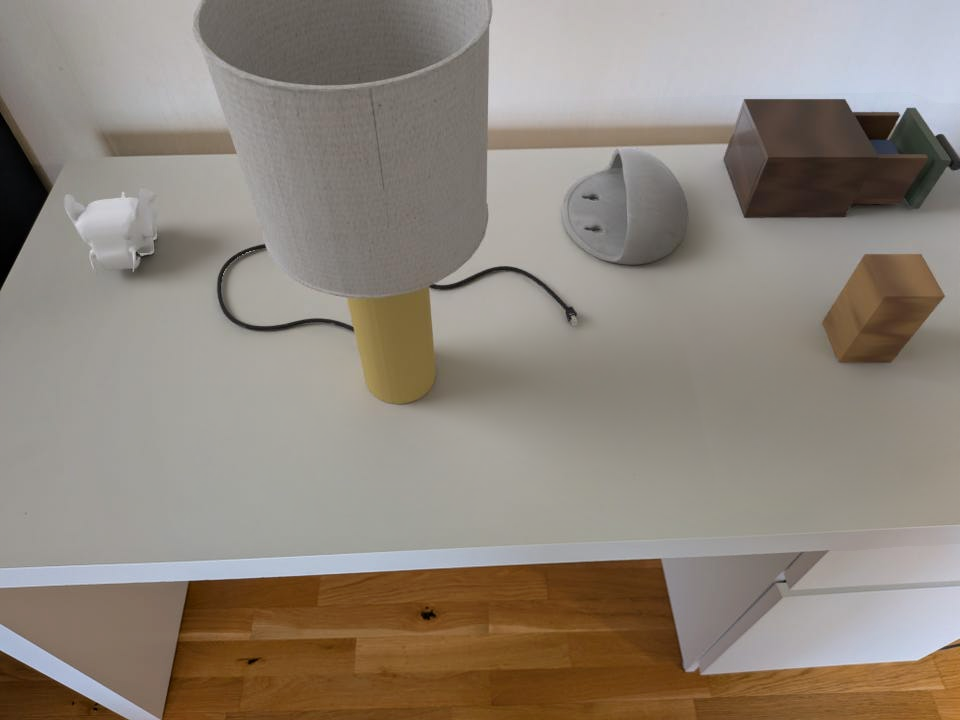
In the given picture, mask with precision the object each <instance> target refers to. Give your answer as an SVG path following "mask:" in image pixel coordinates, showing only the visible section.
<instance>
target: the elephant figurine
mask: <svg viewBox="0 0 960 720" xmlns="http://www.w3.org/2000/svg"><path fill="white" fill-rule="evenodd" d="M138 194H139V195H138V198H136V197H130V196H129V197H127V196H126V192H125V191H122V192H121V197H114V198H105V199H97V200H94V201H92V202H90V203H89V204H87V206H86V207H85V206H84V205H83V204H82V203H80V202H77V201H76V199H75V197H74V195H72V194H69V193H68V194H66V195H65V196H64V199H63V206H64V209H65V212H66V214H67V215H68V217H69V219H70V220H71V222H72V224H73V225H74V228H75V229H76V231H77V233H78V235H79V236H80V237H81V238H82V241H83V242H84V243H85V244H87V245H88V246H90V248H91V250H90V251H89V254H88V256H89V262H90V264H91V267H92V269H93V271H94V273H95V275H96V276H97V275H98V271H97V268H96V264H95V259H97V262H98V265H99V266H100V267H101V268H102V269H104V270H106V271H115V270H124V269H125V270H126V269H130V270H131V269H132V273H133V272H135V269H137V268H138V267H139V265H140V262H141V256H137V253H136V252H139V253H150V252H151V251H153V249H154V246H155V241H153V237H155V235H156V234H157V231H158V227H157V219H158V208H157V205H156V201H155V199H156V197H157V194H156V193H154V192H152V191H151V190H150V189H148V188H144V187H141V188H140V189H139V192H138Z"/></svg>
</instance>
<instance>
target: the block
mask: <svg viewBox="0 0 960 720" xmlns="http://www.w3.org/2000/svg"><path fill="white" fill-rule="evenodd" d="M869 141H870V143H871V144H872V146H873V148H874V150H875V151H876V153H877V154H899V153H898V151H897V149H896V148H895V146H894V144H893V143H892V141H891V140H889V139H887V140H869Z"/></svg>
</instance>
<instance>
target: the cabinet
mask: <svg viewBox="0 0 960 720" xmlns="http://www.w3.org/2000/svg"><path fill="white" fill-rule="evenodd" d="M853 112H854V111H853V110H852V109H851V107H850V105H849V103H848V101H847V100H846V99H845V98H744V99H743V101H742V103H741V106H740V109H739V113H738V115H737V118H736V121H735V123H734V127H733V130H732V133H731V136H730V138H729V141H728V144H727V147H726V150H725V152H724V155H723V159H724V160H723V163H724V164H725V168H726V171H727V174H728V176H729V179H730V182H731V184H732V187H733V191H734V194H735V195H736V198H737V201H738V204H739V207H740V209H741V213H742V215H743V217H744V218H845V217H847V214H848V212H849V211H850V209H851V207H852V205H854V204H853V202H854V200H855V198H856V197H857V195H858V193H859V191H860V190H861V188H862V186H863V184H864V182H865V181H866V179H867V177H868V175H869V174H870V172H871V170H872V168H873V166H874V165H875V162H876V161H877V160H878V158H879V156H878V155H877V153H876V151H875V150H874V148H873V146H872V144H871V143H870V141H869V139H868V138H867V136H866V134H865V132H864V131H863V129H862V127H861V126H860V124H859V122H858V120H857V119H856V117H855V115H854V114H853Z"/></svg>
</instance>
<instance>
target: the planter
mask: <svg viewBox="0 0 960 720" xmlns="http://www.w3.org/2000/svg"><path fill="white" fill-rule="evenodd" d="M591 198H596V199H598V200H592V199H591ZM561 219H562V224H563V227H564V230H565V231H566V233H567V235H568V236H569V238H570V239H571V240H572V241H573V242H574V243H575V244H576V245H577V246H578V247H579V248H581V249H582V250H583V251H584V252H586V253H587V254H589V255H591V256H593V257H595V258H596V259H598V260H603V261H605V262H609V263H613V264H618V265H619V264H620V265H627V266H631V265H633V266H634V265H636V266H637V265H645V264H649V263H653V262H656V261H659V260H661V259H664V258H665V257H667V256H669V255H670V254H671V253H673V252H674V251H675V250H676V249H677V248H678V247H679V245H680V244H681V242H682V241H683V239H684V236H685V235H686V231H687V229H688V224H689V207H688V201H687V198H686V196H685V192H684V190H683V188H682V185H681V184H680V182H679V181H678V179H677V177H676V176H675V174H674V173H673V172H672V170H671V169H670V168H669V166H667V164H665V163H664V162H663V161H662V160H661V159H660V158H658V157H657V156H656V155H653V154H652V153H650V152H648V151H646V150H644V149H640V148H636V147H629V146H622V147H617V148H616V149H615V150H614V151H613V153H612V156H611V159H610V161H609V164H608V165H606V167H604V168H602V169H600V170H597V171H594V172H592V173H589V174H586V175H584V176H582V177H580V178H579V179H578V180H576V181H575V182H574V183H573V184H572V185H571V186H569V188H568V190H567V191H566V193H565V195H564V198H563V201H562V208H561ZM593 230H600V231H601V232H595V231H593Z"/></svg>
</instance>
